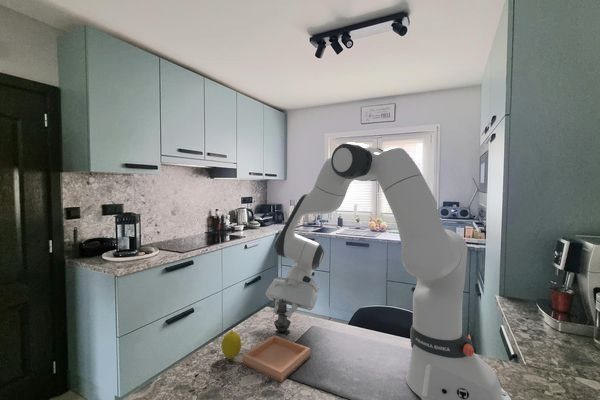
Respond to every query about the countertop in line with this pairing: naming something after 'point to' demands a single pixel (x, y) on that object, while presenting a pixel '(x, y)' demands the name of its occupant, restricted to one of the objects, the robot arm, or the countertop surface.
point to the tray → (276, 357)
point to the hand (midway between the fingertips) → (281, 315)
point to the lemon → (231, 344)
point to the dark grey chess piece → (282, 320)
